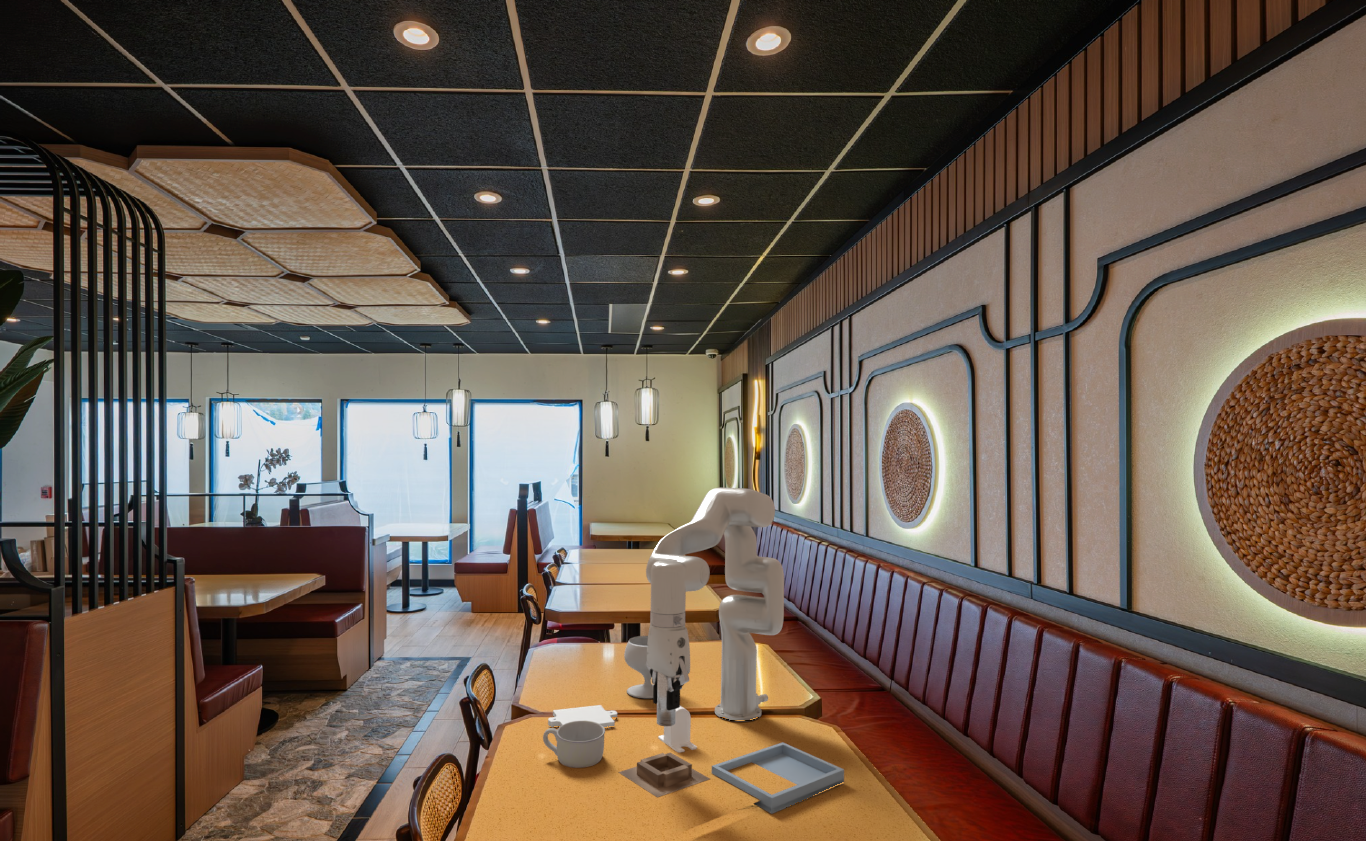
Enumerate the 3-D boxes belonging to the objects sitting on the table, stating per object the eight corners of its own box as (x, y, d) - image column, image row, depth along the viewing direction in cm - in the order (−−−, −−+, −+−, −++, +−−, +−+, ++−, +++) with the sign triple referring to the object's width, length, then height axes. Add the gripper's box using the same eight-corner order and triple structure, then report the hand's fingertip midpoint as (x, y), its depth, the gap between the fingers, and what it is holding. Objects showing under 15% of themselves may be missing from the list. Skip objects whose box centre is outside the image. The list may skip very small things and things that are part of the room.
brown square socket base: (669, 763, 164) (670, 745, 164) (710, 786, 153) (710, 766, 153) (618, 779, 155) (618, 760, 156) (657, 805, 144) (657, 784, 145)
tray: (782, 755, 170) (782, 742, 170) (843, 783, 156) (844, 769, 156) (711, 780, 156) (711, 765, 156) (771, 813, 142) (771, 798, 142)
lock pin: (667, 717, 158) (668, 662, 158) (679, 723, 155) (680, 666, 155) (652, 721, 156) (653, 665, 156) (664, 727, 152) (665, 670, 153)
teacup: (612, 760, 165) (612, 724, 165) (590, 780, 155) (591, 741, 155) (557, 750, 170) (558, 715, 170) (533, 769, 159) (534, 732, 160)
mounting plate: (554, 737, 179) (554, 729, 179) (543, 718, 191) (543, 711, 191) (623, 728, 185) (624, 720, 186) (609, 711, 197) (609, 703, 198)
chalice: (670, 701, 205) (671, 647, 205) (621, 700, 205) (622, 646, 206) (672, 685, 219) (673, 635, 219) (625, 684, 219) (626, 634, 220)
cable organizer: (676, 740, 177) (677, 698, 178) (697, 755, 169) (698, 711, 169) (657, 744, 175) (658, 702, 175) (678, 759, 166) (679, 715, 167)
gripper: (706, 624, 152) (705, 713, 151) (658, 609, 165) (657, 691, 164) (678, 630, 147) (676, 721, 146) (631, 614, 160) (629, 698, 160)
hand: (666, 704), depth 155 cm, fingers closed on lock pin, 4 cm apart
